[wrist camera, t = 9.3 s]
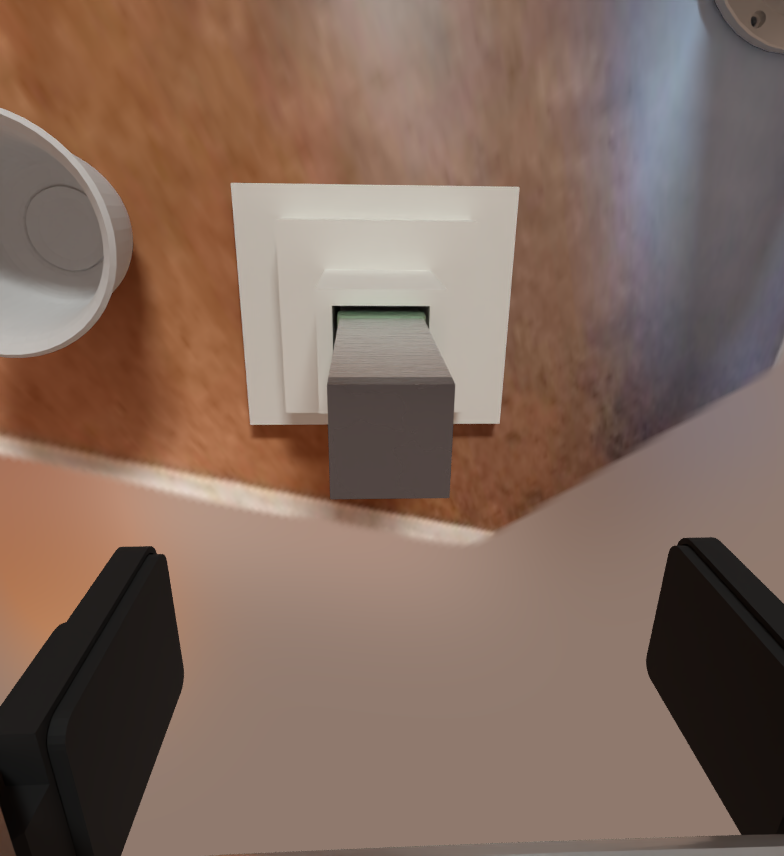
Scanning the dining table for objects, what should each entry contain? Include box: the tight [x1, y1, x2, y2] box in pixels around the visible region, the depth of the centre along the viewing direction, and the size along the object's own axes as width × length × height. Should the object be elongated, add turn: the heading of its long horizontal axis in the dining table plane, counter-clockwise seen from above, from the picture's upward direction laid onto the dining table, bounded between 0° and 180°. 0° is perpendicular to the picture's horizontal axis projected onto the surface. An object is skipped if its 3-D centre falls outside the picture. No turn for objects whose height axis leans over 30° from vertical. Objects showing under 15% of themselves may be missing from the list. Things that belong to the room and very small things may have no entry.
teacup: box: [0, 108, 133, 358], centre depth 34 cm, size 12×15×10 cm
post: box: [327, 306, 455, 499], centre depth 27 cm, size 4×4×17 cm
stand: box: [231, 183, 519, 425], centre depth 35 cm, size 18×16×13 cm
